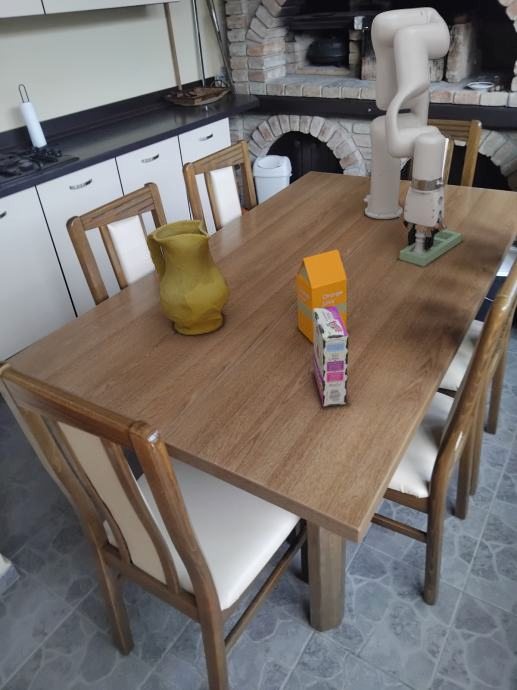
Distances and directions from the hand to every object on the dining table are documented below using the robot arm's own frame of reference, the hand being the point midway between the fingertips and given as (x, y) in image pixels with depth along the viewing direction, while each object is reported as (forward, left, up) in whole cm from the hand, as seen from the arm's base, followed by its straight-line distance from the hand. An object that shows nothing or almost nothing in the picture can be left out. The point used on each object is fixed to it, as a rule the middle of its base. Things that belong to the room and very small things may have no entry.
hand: (419, 245), depth 154 cm
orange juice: (+13, -45, -4) cm, 47 cm away
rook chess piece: (0, 0, -4) cm, 4 cm away
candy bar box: (+31, -57, -4) cm, 65 cm away
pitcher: (-11, -66, -4) cm, 67 cm away
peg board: (-1, +6, -4) cm, 7 cm away
